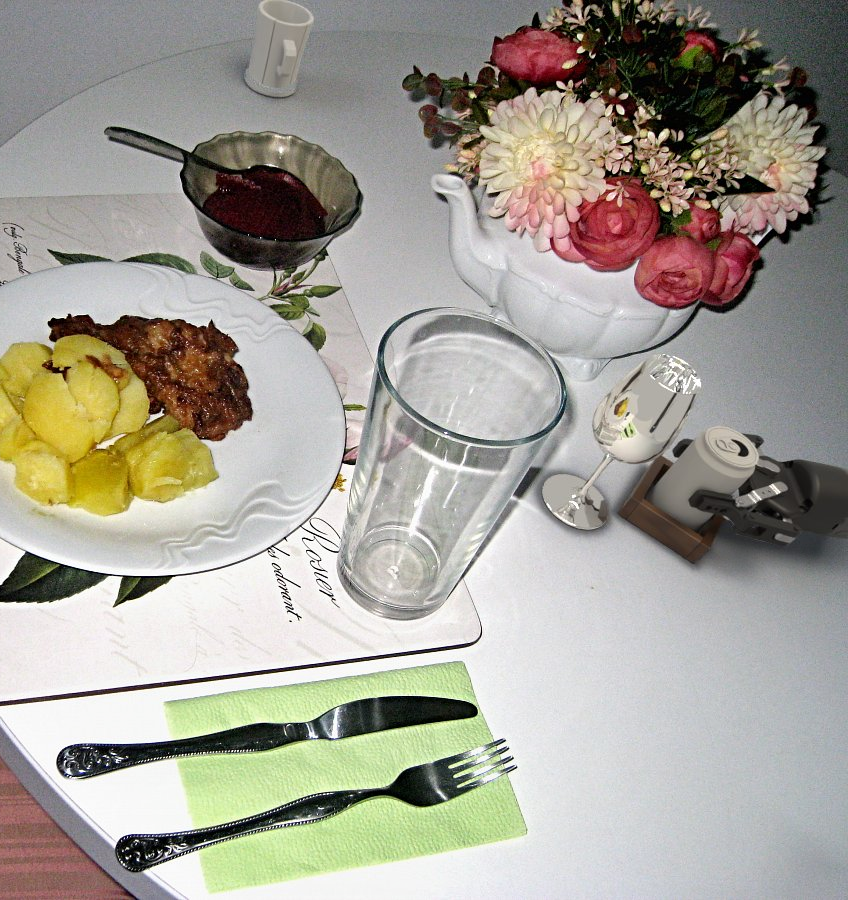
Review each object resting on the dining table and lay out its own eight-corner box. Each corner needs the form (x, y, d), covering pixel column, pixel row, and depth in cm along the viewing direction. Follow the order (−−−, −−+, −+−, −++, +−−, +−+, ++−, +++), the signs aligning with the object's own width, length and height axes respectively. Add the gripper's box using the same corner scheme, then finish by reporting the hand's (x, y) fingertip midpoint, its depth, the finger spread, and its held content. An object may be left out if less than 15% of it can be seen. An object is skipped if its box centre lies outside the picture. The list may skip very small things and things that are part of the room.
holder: (718, 516, 102) (733, 500, 100) (693, 564, 96) (709, 548, 94) (645, 470, 104) (659, 453, 102) (617, 513, 99) (631, 497, 97)
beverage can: (704, 542, 98) (772, 474, 90) (650, 533, 98) (713, 463, 89) (687, 497, 103) (751, 427, 94) (635, 488, 102) (695, 417, 93)
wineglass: (527, 494, 98) (619, 363, 83) (564, 464, 102) (658, 334, 88) (585, 543, 95) (691, 415, 80) (620, 509, 99) (727, 383, 85)
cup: (313, 96, 148) (333, 24, 140) (277, 109, 143) (295, 35, 134) (268, 66, 152) (284, -6, 143) (231, 78, 147) (246, 4, 138)
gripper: (828, 429, 99) (687, 400, 97) (880, 533, 89) (724, 503, 87) (784, 472, 104) (650, 445, 102) (829, 575, 94) (682, 547, 93)
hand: (685, 472), depth 95 cm, fingers closed on beverage can, 6 cm apart
